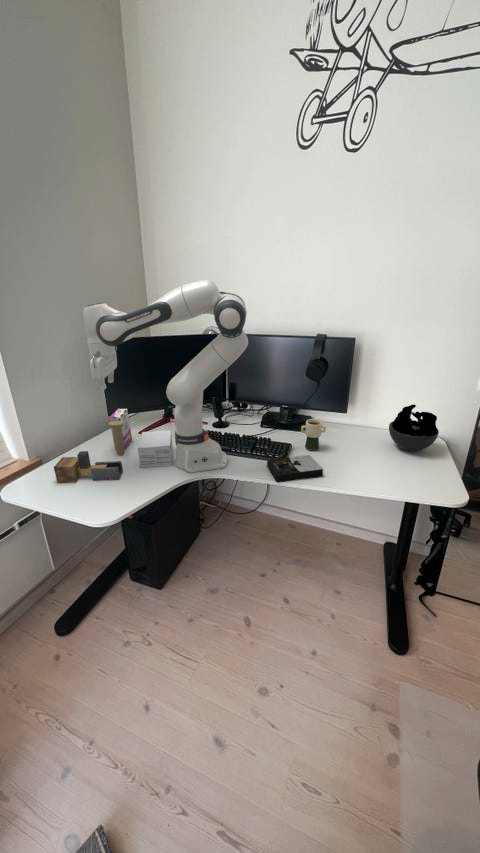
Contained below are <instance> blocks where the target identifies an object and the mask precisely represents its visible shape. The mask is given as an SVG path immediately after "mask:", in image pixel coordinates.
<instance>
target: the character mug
mask: <svg viewBox="0 0 480 853" xmlns="http://www.w3.org/2000/svg"><path fill="white" fill-rule="evenodd" d="M326 428H327V426H326V425H323V421H321V420H319V419H314V418H311V419H307V420H306V421H305V425H301V428H300V432H301V433H304V434H305V436H306V439H305V440H306V441H305V445H304V447H305V449H307V450H308V451H309V450H310V451H317V450H318V449H320V442H319V441H320V438H319V437H321V435H322V433H326V430H327V429H326Z"/></svg>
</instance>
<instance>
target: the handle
mask: <svg viewBox="0 0 480 853" xmlns="http://www.w3.org/2000/svg"><path fill="white" fill-rule="evenodd" d="M107 424H108V425H107V426H108V428H110V429H111V428H112V429H113V435H114V441H113V445H115V447H114V450H115V449H116V450H115V452H116V455H117V456H124V454H125V450H124V441H123V436H122V432H121V427H123V426H124V422H122V421H112V422H110V421H109V422H108V423H107ZM113 435H112V436H113Z"/></svg>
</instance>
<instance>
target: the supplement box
mask: <svg viewBox="0 0 480 853" xmlns="http://www.w3.org/2000/svg"><path fill="white" fill-rule="evenodd" d="M138 443H139V444H138V447H137V453H138V464H139V468H140V469H141V468H151V467H152V468H153V467H154V468H155V467H167V466H169V467H170V466H172V464H173V451H174V450H173V449H174V448H173V434H172V430H158V431H157V430H156V431H142V432H141V435H140V439H139V442H138Z"/></svg>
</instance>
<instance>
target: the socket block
mask: <svg viewBox="0 0 480 853" xmlns="http://www.w3.org/2000/svg"><path fill="white" fill-rule="evenodd" d="M78 465H79V461H78V456H64V457H63V456H62V457H61V458H60V459H59V461H58V462H56V464H55V465H54V466H53V470H54V474H55V479H56V483H57V484H72V483H73V484H76V483H77V482H78V481H79V479H80V478H81V477H82V476H77V472H76V468H77V466H78Z"/></svg>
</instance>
